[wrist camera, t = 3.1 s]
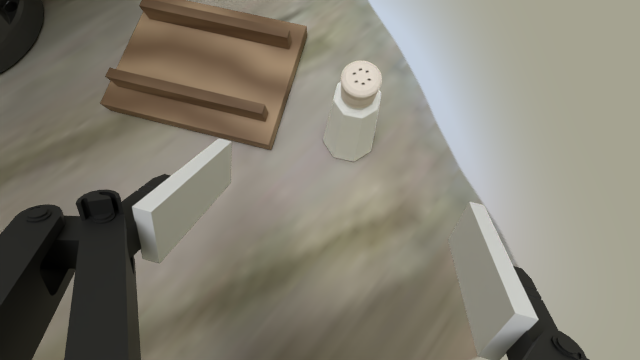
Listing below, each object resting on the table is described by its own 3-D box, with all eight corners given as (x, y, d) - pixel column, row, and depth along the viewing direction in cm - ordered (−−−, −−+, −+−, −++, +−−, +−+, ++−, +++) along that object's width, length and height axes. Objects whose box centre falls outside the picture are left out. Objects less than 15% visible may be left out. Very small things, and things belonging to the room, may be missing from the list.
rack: (271, 150, 30) (264, 138, 27) (110, 110, 32) (86, 94, 29) (307, 35, 33) (305, 13, 30) (159, 3, 35) (142, -22, 32)
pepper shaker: (318, 117, 31) (315, 47, 20) (369, 109, 31) (392, 36, 21) (327, 166, 30) (328, 119, 19) (379, 158, 30) (410, 107, 19)
